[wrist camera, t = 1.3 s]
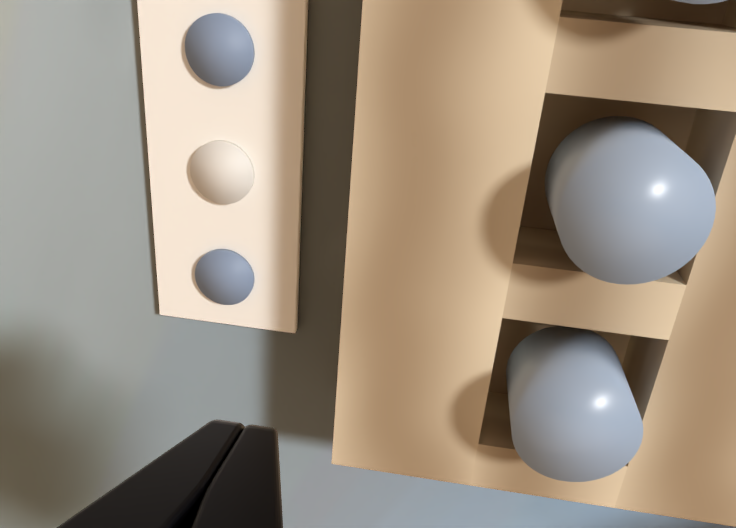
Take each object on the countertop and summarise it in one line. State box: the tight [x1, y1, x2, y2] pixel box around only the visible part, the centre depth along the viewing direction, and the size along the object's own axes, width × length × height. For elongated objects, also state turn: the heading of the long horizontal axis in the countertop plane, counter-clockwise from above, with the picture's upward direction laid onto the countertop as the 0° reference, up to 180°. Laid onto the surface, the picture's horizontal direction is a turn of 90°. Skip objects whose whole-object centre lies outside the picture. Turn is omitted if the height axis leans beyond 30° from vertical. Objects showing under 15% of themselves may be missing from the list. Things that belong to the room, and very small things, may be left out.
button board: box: [332, 0, 736, 527], centre depth 16 cm, size 12×18×3 cm, turn 176°
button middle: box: [545, 116, 716, 285], centre depth 14 cm, size 3×3×2 cm
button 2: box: [506, 326, 643, 482], centre depth 17 cm, size 3×3×2 cm
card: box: [137, 0, 308, 333], centre depth 18 cm, size 4×10×1 cm, turn 176°
